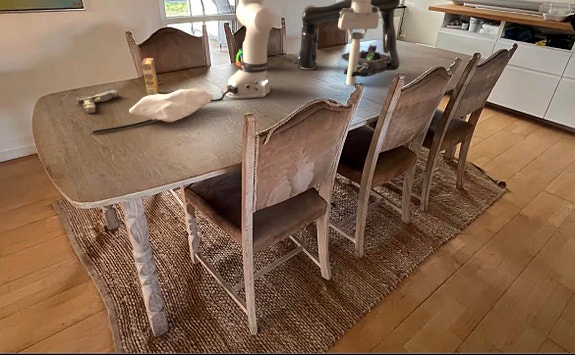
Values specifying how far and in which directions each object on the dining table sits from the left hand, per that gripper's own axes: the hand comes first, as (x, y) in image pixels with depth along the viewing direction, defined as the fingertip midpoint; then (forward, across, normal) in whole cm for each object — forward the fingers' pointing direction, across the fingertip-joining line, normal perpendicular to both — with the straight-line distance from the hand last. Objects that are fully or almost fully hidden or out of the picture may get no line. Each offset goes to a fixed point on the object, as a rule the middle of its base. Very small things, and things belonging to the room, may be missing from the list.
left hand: (356, 38), depth 178 cm
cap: (-2, 0, 0) cm, 2 cm away
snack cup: (+23, -45, +38) cm, 63 cm away
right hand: (+17, -2, -1) cm, 17 cm away
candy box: (+23, -98, +6) cm, 101 cm away
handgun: (+23, -119, 0) cm, 122 cm away
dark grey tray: (+23, +35, +42) cm, 60 cm away
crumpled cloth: (+23, -91, -18) cm, 96 cm away
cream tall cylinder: (+23, 0, 0) cm, 23 cm away
